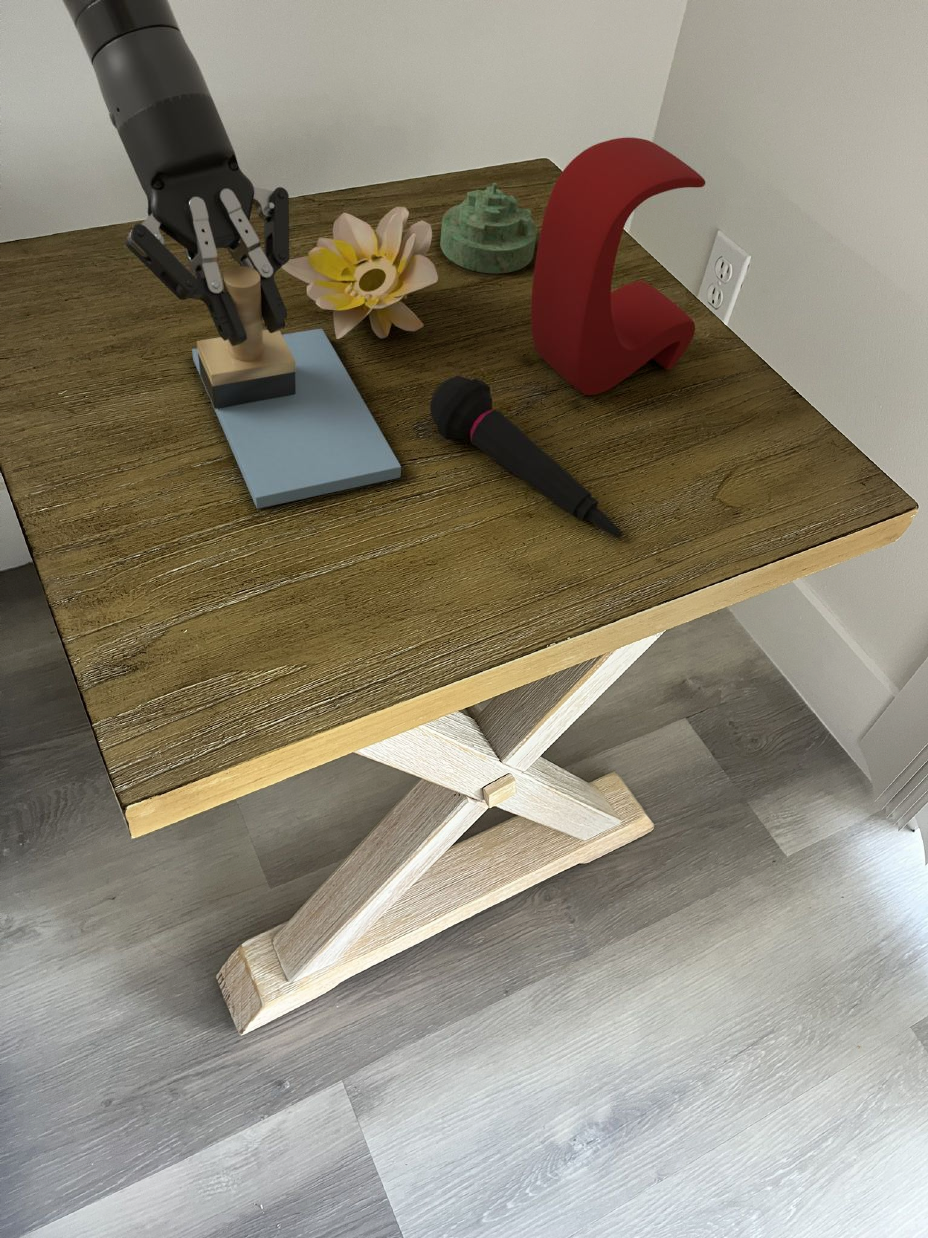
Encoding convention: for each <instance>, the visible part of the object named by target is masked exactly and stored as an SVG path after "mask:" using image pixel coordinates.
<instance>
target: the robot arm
mask: <svg viewBox="0 0 928 1238" xmlns="http://www.w3.org/2000/svg"><path fill="white" fill-rule="evenodd" d="M61 1H62V3H63V5H64V7H65V8H66V10H67V12H68V14H69V16H70V18H71V20H72V23H73V25H74V28H75V29H76V32H77V34H78V37H79V39H80V41H81V43H82V46H83V47H84V50H85V53H86V55H87V57H88V59H89V62H90V64H91V66H92V68H93V71H94V74H95V77H96V79H97V83H98V86H99V90H100V93H101V97H102V98H103V101H104V104H105V106H106V108H107V111H108V116H109V119H110V121H111V124H112V125H113V126H114V128H115V130H116V132H117V134H118V136H119V139H120V141H121V143H122V144H123V147H124V150H125V152H126V154H127V156H128V158H129V162H130V163H131V165H132V168H133V171H134V173H135V175H136V177H137V180H138V181H139V184H140V186H141V189H142V190H143V192H144V194H145V196H146V200H147V216H148V217H147V218H146V219H145V220H144V221H143V222H141V223H137V224H135V225H134V226H133V227H132V229H131V231H130V232H129V233H128V235H127V236H126V238H125V245H126V247H127V248H128V249H129V250H130V252H132V254H133V255H135V257H136V258H137V259H139V260H140V262H141V263H143V265H145V267H147V269H148V270H150V272H151V273H153V274H154V275H155V277H156V278H158V280H159V281H161V283H162V284H163V285H164V286H165V287H166V288H168V290H169V291H170V292H171V293H173V294H174V295H175V297H176V298H177V299H179V300H181V301H185V300H188V299H193V300H199V301H201V302H203V303H204V304H205V306H206V308H207V310H208V312H209V314H210V316H211V319H212V321H213V323H214V326H215V328H216V331H217V333H218V335H219V337H222V339H223V340H224V341H226V340H229V342H230V344H231V345H232V346H235V345H238V344H241V343H243V342H244V341H245V340H247V335H246V332H245V329H244V327H243V325H242V322H241V320H240V318H239V315H238V313H237V311H236V308H235V306H234V304H233V301H232V299H231V297H230V294H229V292H226V293H224V282H223V277H222V275H221V271H220V268H219V264H218V263H219V262H218V260H219V256H218V250H217V249H227V252H228V254H229V255H230V256H231V258H232V259H233V260H234V262H236V263H238V265H239V266H247V267H250V268H253V269H255V270H256V271H257V272H258V273H259V274H260V280H261V305H262V321H263V322H264V325H265V327H266V330H268V331H269V332H270V333H274V332H277V331H279V330H280V331H281V330H282V329H284V328H285V327H286V319H287V318H288V309H287V307H286V305H285V303H284V300H283V298H282V296H281V293H280V291H279V289H278V286H277V283H276V281H275V274H276V272H278V271H279V270H280V269H282V266H283V265H285V264H286V263H287V262H288V261H289V260H290V199H289V198H290V196H289V193H288V191H287V189H285V187H281V186H278V187H276V188H275V189H274V190H269V189H266V188H260V187H255V186H254V184H253V183H252V181H251V180H250V178H249V177H247V175H245V174H244V173H243V171H242V169H241V168H240V165H239V162H238V159H237V156H236V153H235V150H234V147H233V145H232V142H231V140H230V138H229V135H228V132H227V130H226V128H225V126H224V122H223V121H222V118H221V116H220V113H219V111H218V108H217V106H216V104H215V101H214V99H213V97H212V93H211V92H210V89H209V87H208V84H207V82H206V80H205V77H204V75H203V73H202V70H201V68H200V65H199V64H198V63H199V62H197V59H196V58H195V56H194V54H193V52H192V50H191V49H190V48H189V46H188V43H187V41H186V40H185V38H184V35H183V34H182V31H181V29H180V26H179V24H178V21H177V19H176V17H175V15H174V12H173V10H172V7H171V5H170V2H169V0H61ZM253 206H254V207H255V208H256V211H257V214H258V217H259V218H260V219H261V220H262V221H263V237H264V238H263V243H264V245H263V246H264V250H263V248H262V247H261V241H260V238H259V236H258V235H257V233H256V231H255V229H254V228H253V225H252V224H251V222H250V220H251V215H252V208H253ZM161 231H162V232H163V233H164V234H166V235H167V236H168V237H170V238H171V239H173V240H174V241H175V242H176V243H178V244H179V245H181V246H182V247H183V248H184V252H185V255H186V259H187V262H188V266H189V269H190V270H189V269H188V268H187V267H186V266H185V265H184V264H183V263H182V262H181V261H180V260H179V259H178V258H177V257H176V256H175V255H174V254H173V253H172V252H171V251H170V250H169V249H168V248H167V246H165V237H164V236H163V234H162V233H161Z"/></svg>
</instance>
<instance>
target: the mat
mask: <svg viewBox="0 0 928 1238" xmlns="http://www.w3.org/2000/svg"><path fill="white" fill-rule="evenodd" d="M282 336H283V338H284V340H285V342H286V344H287V345H288V347H289V349H290V351H291V353H292V355H293V357H294V359H295V382H296V394H294V395H288V396H283V397H278V398H272V399H267V400H261V401H256V402H251V403H245V404H240V405H234V406H229V407H224V408H218V409H215V408H214V406H213V404H212V401H211V399H210V397H209V394H208V392H207V390H206V387H205V385H204V383H203V380H202V378H201V375H200V367H199V358H198V348H192V349H191V352H192V360H193V362H194V365H195V367H196V370H197V372H198V374H199V377H200V378H201V382H202V383H203V386H204V388H205V391H206V393H207V395H208V397H209V400H210V402H211V404H212V408H213V409H214V412H215V414H216V417H217V419H218V421H219V424H220V426H221V428H222V431H223V432H224V436H225V437H226V440H227V443H228V444H229V447H230V449H231V451H232V454H233V456H234V459H235V460H236V463H237V466H238V468H239V470H240V472H241V476H242V478H243V479H244V482H245V484H246V487H247V489H248V491H249V494H250V496H251V498H252V500H253V503H254V505H255V507H256V509H258V510H259V509H262V508H268V507H271V506H277V505H281V504H285V503H290V502H295V501H299V500H303V499H309V498H315V497H318V496H322V495H327V494H332V493H335V492H341V491H346V490H350V489H355V488H359V487H364V486H368V485H372V484H378V483H381V482H387V481H391V480H396V479H400V478H401V475H402V466H401V464H400V462H399V460H398V458H397V457H396V455H395V453H394V451H393V450H392V447H391V446H390V444H389V443H388V441H387V440H386V439H387V438H385V436H384V434H383V433H382V431H381V429H380V427H379V425H378V423H377V422H376V420H375V418H374V416H373V415H372V413H371V411H370V409H369V408H368V406H367V404H366V403H365V400H364V399H363V398H362V396H361V394H360V391H359V390H358V388H357V387H356V385H355V383H354V381H353V380H352V378H351V376H350V375H349V373H348V370H347V369H346V368H345V366H344V364H343V363H342V361H341V359H340V357H339V355H338V353H337V351H336V349H335V348H334V347H333V345H332V343H331V342H330V340H329V337H328V336H327V334H326V332H325V331H324V329H323V328H315V329H309V330H302V331H297V332H291V333H285V334H282Z"/></svg>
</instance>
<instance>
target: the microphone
mask: <svg viewBox="0 0 928 1238" xmlns="http://www.w3.org/2000/svg"><path fill="white" fill-rule="evenodd" d="M430 399H431V400H430V406H429V408H430V409H429V410H430V416H431V419H432V420H433V422H434V424H435V426H436V427H437V430H438V435H439V436H441V437H442V438H444V439H445V440H450V441H457V440H458V439H459V440H465V441H466V440H470V441H471V444H472V445H473V446H475V447H476V448H477V449H479V450H480V451H482V452H483V453H485V454H486V455H487V456H489V457H490V458H491V459H493V460H494V462H495V463H496V464H497V465H498V466H499V467H500V468H502V469H503V470H504V471H506V472H507V473H512V474H514V475H515V476H516V477H517V478H519V479H520V480H522V481H523V482H525V483H526V484H527V485H529V486H531V488H533V489H534V490H536V491H537V492H538V493H540V494H542V496H544V497H546V498H547V499H549V500H550V501H551V502H553V503H554V504H556V505H557V506H558V507H560V508H561V509H562V510H564V511H565V512H567V513H568V514H569V515H571V516H572V517H576V518H577V519H579V520H580V521H581V522H583V521H586V520H588V521H590V522H591V523H592V524H594V525H595V526H596V527H598V528H600V529H601V530H603V531H604V532H606V533H608V534H610V535H611V536H613V537H615V538H617V539H619V538H620V537H622V535H623V532H622V531H621V530H620V529H619V527H618V526H616V524H615V523H614V522H613V521H612V520H611V519H610V518H609V517H608V516H607V515H606V514H605V513H604V512H603V511H602V510H600V508H598V505H599V501H598V500H597V499H596V498H594V497H593V496H592V493H591V492H590V491H589V490H588V489H586V488H585V487H584V486H583V485H582V484H581V483H580V482H579V481H578V480H577V479H576V478H574V477H573V476H572V475H571V474H570V473H569V472H568V471H567V470H565V469H564V468H563V467H562V466H561V465H560V464H559V463H557V462H556V460H554V459H553V457H551V455H549V454H548V453H546V452H545V451H544V450H543V449H542V448H541V447H540V446H539V445H537V444H536V443H535V442H534V441H533V440H532V438H530V437H529V436H528V435H527V434H525V433H524V432H523V431H522V430H521V429H520V428H519V427H518V426H516V425H515V424H514V423H513V422H512V421H511V420H510V419H508V418H507V417H506V416H505V415H504V414H503V413H502V412H501V411H500V410H496V409H493V398H492V396H491V387H490V386H489V384H488V383H486V382H485V381H483V380H481V379H477V378H473V379H471V378H468V377H465V376H461V375H454V376H452V377H449V378H447V379H445V380H444V381H442V382H441V383H440V384H438V386H437V387H436V388H435V389H434V392H433V394H432V396H431V398H430Z"/></svg>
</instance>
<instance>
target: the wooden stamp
mask: <svg viewBox="0 0 928 1238" xmlns="http://www.w3.org/2000/svg"><path fill="white" fill-rule="evenodd" d="M222 282H223V291H224V293H226V292H229V294H230V297H231V299H232V301H233V304H234V306H235V308H236V311H237V313H238V315H239V318H240V320H241V322H242V325H243V327H244V329H245V332H246V335H247V340H245V341H244V342H243V343H241V344H238V345H235V346H232V345H231V344H230V342H229V340H226V341H224V340H223V339H222V337H221V336H218V337H213V338H206V339H201V340H196V347H197V348H198V358H199V367H200V374H199V376H200V375H201V377H200V378H202V379H201V381H202V380H203V381H202V383H204V384H203V386H204V385H205V386H204V388H205V387H206V388H205V391H206V390H207V391H206V393H207V392H208V393H207V395H208V394H209V395H208V397H210V398H209V400H210V399H211V400H210V402H211V401H212V402H211V404H213V405H212V407H213V406H214V407H213V409H214V408H215V409H218V408H224V407H229V406H234V405H240V404H245V403H251V402H256V401H261V400H267V399H272V398H278V397H283V396H288V395H294V394H296V382H295V359H294V357H293V355H292V353H291V351H290V349H289V347H288V345H287V344H286V342H285V340H284V338H283V336H282V335H283V334H282V332H281V330H279V331H277V332H274V333H270V332H269V331H268V329H263V318H262V305H261V280H260V274H259V273H258V272H257V271H256V270H255V269H253V268H250V267H247V266H240V265H235V266H231V267H229V268H227V269H226V270H225V271H224V272H223V275H222ZM197 348H196V349H197ZM215 409H214V410H215Z"/></svg>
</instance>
